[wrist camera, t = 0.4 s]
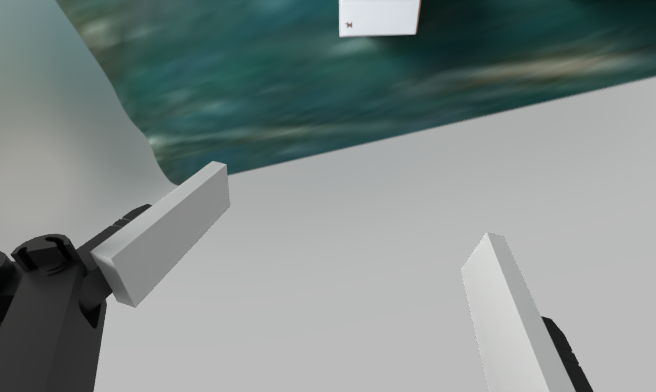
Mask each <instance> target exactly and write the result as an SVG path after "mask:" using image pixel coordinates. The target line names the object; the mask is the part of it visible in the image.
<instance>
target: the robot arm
mask: <svg viewBox="0 0 656 392" xmlns="http://www.w3.org/2000/svg"><path fill="white" fill-rule="evenodd" d="M229 206H230V200H229V188H228V177H227V166H226V164H222V163H219V162H215V161H212V162H211V163H209V164H208V165H207V166H205V167H204V168H203V169H201V170H200V171H199V172H197V173H196V174H195V175H193V176H192V177H190V178H189V179H188V180H186V181H185V182H184V183H182V184H181V185H180V186H178V187H177V188H176V189H174V190H173V191H172V192H170V193H169V194H168V195H166V196H165V197H163V198H162V199H161V200H159V201H158V202H157V203H155V204H154V205H149V204H146V205H144V206H141V207H139V208H136V209H134V210H132V211H131V212H129V213H128V214H126V215H125V216H124V217H123V218H122V219H119V220H118V221H116V222H115V223H114V224H113V226H109V227H108V228H107V229H105V230H104V231H102V232H101V233H99V234H98V235H96V236H95V237H94V238H92V239H91V240H89V241H88V242H86V243H85V244H84V245H82V246H81V247H79V248H78V249H77V250H76V249H75V248H74V246H73V245H72V243H71V241H70V239H69V238H67V237H66V236H65V235H60V234H48V235H44V236H40V237H36V238H33V239H31V240H29V241H26V242H25V243H23V244H21V245H20V246H18V247H17V248H16V249H15V250H14V251H13V252H12V253H11V256H12V257H13V258H14V260H15V261H16V262H13V261H11V260H10V259H9V258H8V257H7V256H6V254H4V253H2V252H1V251H0V392H93V391H94V385H95V378H96V371H97V365H98V359H99V352H100V346H101V339H102V333H103V327H104V320H105V314H106V307H107V303H106V298H107V297H108V296H109V295H110V294H111V293H112V292H113V294H114V296H115V298H116V300H117V301H118V302H121V303H124V304H126V305H130V306H132V307H136V306H137V305H138V304H139V303H140V302H141V301H142V300H143V299H144V298H145V297H146V296H147V295H148V293H150V291H151V290H152V289H153V288H154V287H155V286H156V285H157V284H158V283H159V282H160V281H161V279H163V278H164V276H165V275H166V274H167V273H168V272H169V271H170V270H171V269H172V268H173V267H174V266H175V265H176V264H177V263H178V261H179V260H180V259H181V258H182V257H183V256H184V255H185V254H186V253H187V252H188V250H190V249H191V247H192V246H193V245H194V244H195V243H196V242H197V241H198V240H199V239H200V238H201V237H202V236H203V235H204V233H205V232H206V231H207V230H208V229H209V228H210V227H211V226H212V225H213V224H214V223H215V222H216V221H217V220H218V219H219V217H220V216H221V215H222V214H223V213H224V212H225V211H226V210H227V209H228V208H229ZM461 274H462V278H463V282H464V287H465V291H466V296H467V300H468V304H469V309H470V313H471V317H472V322H473V326H474V330H475V335H476V339H477V343H478V347H479V352H480V357H481V361H482V365H483V370H484V374H485V378H486V383H487V386H488V391H489V392H593V390H592V388H591V386H590V384H589V382H588V380H587V378H586V376H585V374H584V372H583V370H582V369H581V367H580V366H579V365H578V364H579V363H578V361H577V359H576V357H575V355H574V353H572V349H571V347H570V345H569V343H568V341H567V339H566V337H565V335H564V334H563V333H562V331H561V330H560V329H559V328H558V327H557V325H556V324H555V323H554V322H553V321H552V320H551V319H549V318H546V317H542V316H540V314H539V311H538V309H537V307H536V305H535V303H534V301H533V299H532V296H531V294H530V292H529V290H528V288H527V286H526V283H525V281H524V279H523V277H522V275H521V273H520V270H519V268H518V266H517V264H516V262H515V260H514V258H513V255H512V253H511V251H510V249H509V247H508V245H507V243H506V240H505V238H504V237H503V236H500V235H496V234H492V233H488V232H486V234H485V235H484V237H483V238H482V240H481V241H480V242H479V244H478V245H477V247H476V248H475V250H474V251H473V253H472V254H471V256H470V257H469V259H468V260H467V261H466V263H465V264H464V266H463V267H462V269H461Z"/></svg>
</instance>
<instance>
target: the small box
mask: <svg viewBox="0 0 656 392" xmlns="http://www.w3.org/2000/svg"><path fill="white" fill-rule="evenodd" d="M420 7H421V0H339V35H340V37H366V36H395V35H415V34H416V33H417V28H418V21H419V14H420Z"/></svg>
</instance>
